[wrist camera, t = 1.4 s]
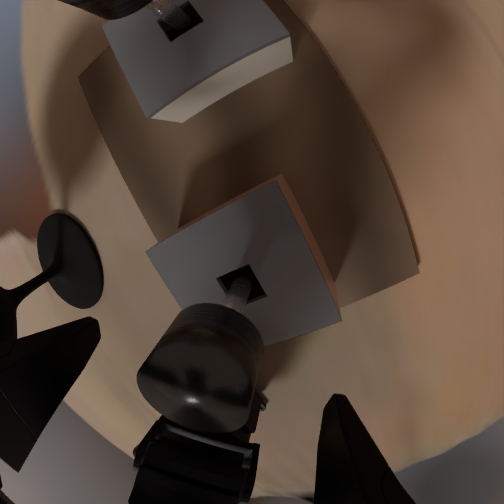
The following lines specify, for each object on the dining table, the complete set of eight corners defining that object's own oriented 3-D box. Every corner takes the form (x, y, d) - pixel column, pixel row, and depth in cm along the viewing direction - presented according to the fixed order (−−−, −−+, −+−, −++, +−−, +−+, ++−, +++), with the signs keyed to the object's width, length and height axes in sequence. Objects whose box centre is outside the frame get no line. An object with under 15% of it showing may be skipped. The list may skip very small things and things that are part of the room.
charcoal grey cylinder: (231, 319, 15) (182, 434, 8) (198, 267, 14) (116, 368, 7) (288, 299, 14) (269, 428, 7) (256, 240, 13) (203, 348, 6)
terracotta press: (234, 320, 20) (218, 359, 16) (177, 228, 18) (145, 251, 14) (334, 283, 18) (341, 320, 14) (282, 173, 16) (275, 180, 12)
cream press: (182, 123, 16) (146, 117, 12) (137, 43, 14) (101, 26, 10) (293, 61, 13) (289, 33, 9) (232, -16, 11) (214, -49, 7)
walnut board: (227, 341, 22) (225, 345, 21) (82, 78, 16) (78, 77, 15) (416, 269, 17) (419, 272, 16) (246, -35, 11) (244, -39, 10)
